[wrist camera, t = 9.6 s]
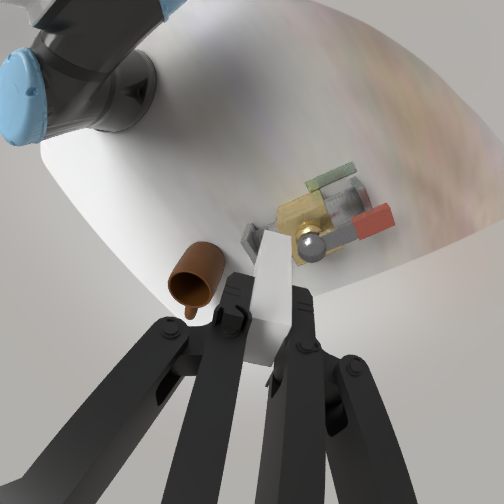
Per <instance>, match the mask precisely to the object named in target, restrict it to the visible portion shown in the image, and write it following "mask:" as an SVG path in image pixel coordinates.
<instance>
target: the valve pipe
mask: <svg viewBox="0 0 504 504" xmlns="http://www.w3.org/2000/svg"><path fill="white" fill-rule="evenodd" d="M354 172H356V169H355V166H354V164H353V162H350V163H348V164H345V165H343V166H341V167H339V168H336V169H334V170H332V171H329V172H327V173H325V174H323V175H321V176H318V177H316V178H314V179H312V180H309V181H307V182H305V184H306V186H307V188H308V190H309V192H311V191H313V190H315V189H317V190H315V191H313V192H311V193H309V194H306V195H304V196H302V197H300V198H297V199H295V200H293V201H291V202H289V203H287V204H284V205H282V206H280V207H278V212H277V220H276V222H273V223H271V224H269V225H267V226H265V227H262V228H260V229H258V230H256V229H255V227H254V225H253V224H252V223H251V224H249V225H247V226H246V229H245V232H244V234H243V237H242V240H241V244H242V246H243V247H244V249H245V251H246V252H247V254H248V255H249V257H250V258H251V260H252V262H253V263H254V265H255V263H256V259H257V256H258V252H259V248H260V245H261V241H262V237H263V234H264V230H268V231H272V232H276V233H280V234H284V235H288V236H291V247H292V256H293V258H294V260H295V262H296V264H297V265H298V266H300V265H302V264H305V263H307V262H306V261H304V260H302V259H301V258H300V257H299V255H298V249H297V243H298V239H299V238H300V236H301V235H302V234H304V233H306V232H310V231H313V232H317V233H322V232H324V231H326V230H329V229H331V228H333V227H336V226H338V225H341V224H343V223H345V222H348V221H350V220H351V218H352V217H354V216H356V215H359V214H361V213H363V212H366V211H368V210H370V209H373V207H372V205H371V202H370V199H369V197H368V194H367V192H366V189H365V187H364V186H363V185H362V184H361V182H360V181H359V180H358V179H357V178H356V177H352V178H350V181H351V184H352V186H353V187H352V188H350V189H348V190H345V191H343V192H341V193H339V194H336V195H334V196H332V197H329V198H327V199H325V200H324V199H323V197H322V194H321V192H320V190H319V189H318V188H320V187H322V186H324V185H326V184H329V183H331V182H333V181H336V180H338V179H340V178H342V177H345V176H347V175H349V174H352V173H354ZM342 248H343V246H342V245H341V246H339V247H336V248H334V249H331V250H329V251H326V254H325V255H327V254H330V253H332V252H334V251H337V250H339V249H342Z"/></svg>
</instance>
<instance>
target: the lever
mask: <svg viewBox="0 0 504 504" xmlns="http://www.w3.org/2000/svg"><path fill="white" fill-rule="evenodd" d="M394 225H395V222H394V219H393V216H392V213H391V209H390V207H389V205H388V204H387V203H384V204H382V205H380V206H377V207H375V208H373V209H370V210H368V211H366V212H363V213H361V214H359V215H356V216H354V217H352V218H351V220H350V221H348V222H345V223H343V224H341V225H338V226H336V227H333V228H331V229H329V230H326V231H324V232H322V233H317V232H313V231H310V232H306V233H304V234H302V235H301V236H300V238H299V239H298V243H297V249H298V255H299V257H300V258H301V259H302V260H304V261H306V262H310V263H314V262H318V261H320V260H321V259H322V258H323V257H324V256H325V254H326V251H329V250H331V249H334V248H336V247H339V246H341V245H343V244H346V243H348V242H351V241H353V240H356V239H358V238H359V240H361V239H364V238H366V237H368V236H371V235H373V234H376V233H378V232H380V231H383V230H385V229H387V228H390V227H392V226H394Z"/></svg>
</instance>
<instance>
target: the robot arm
mask: <svg viewBox="0 0 504 504" xmlns="http://www.w3.org/2000/svg"><path fill="white" fill-rule="evenodd" d="M186 1H187V0H0V2H2V3H6V4H11V5H15V6H18V7H22V8H25V9H26V10H27V12H28V19H29V25H30V26H32V27H35V28H38V29H41V31H40V32H39V34H38V35H37V37H36V38H35V40H34V41H33V43H32V45H31V46H30V47H29V48H26V47H24V48H20V49H19V50H16V51H14V52H13V53H12V54H10V55H9V56H8V57H7V58H6V59H5V61H4V63H3V64H2V66H1V68H0V133H1V135H2V137H3V138H4V139H5V140H6V141H7V142H8V143H9V144H11V145H13V146H23V145H27V144H31V143H39V142H41V141H42V140H45V139H48V138H51V137H55V136H58V135H61V134H64V133H68V132H71V131H75V130H79V129H83V128H90V129H91V128H93V129H95V130H97V131H100V132H116V131H120V130H124V129H127V128H129V127H131V126H132V125H134V124H135V123H137V122H138V121H139V120H140V119H141V118H142V117H143V116H144V114H145V113H146V112H147V110H148V109H149V107H150V105H151V103H152V100H153V98H154V94H155V90H156V73H155V69H154V66H153V64H152V62H151V60H150V59H149V57H148V56H147V55H146V54H144V53H143V52H141V51H140V50H137V49H135V48H136V47H137V46H138V45H139V44H140V43H141V42H142V41H143V40H144V39H145V38H146V37H147V36H148V35H149V34H150V33H151V32H152V31H153V30H154V29H156V28H157V27H158V26H159V25H160V24H161V23H162V22H166V21H167V20H168V17H169V16H170V15H171V14H172V13H173V12H175V11H176V10H177V9H178V8H179V7H180V6H182V5H183V4H184V3H185V2H186ZM313 312H314V309H313V297H312V295H311V294H310V292H309V290H308V289H306V288H302V287H298V286H293V285H292V247H291V236H288V235H284V234H280V233H276V232H272V231H268V230H264V234H263V237H262V241H261V245H260V248H259V252H258V256H257V259H256V263H255V266H254V270H253V276H249V275H245V274H241V273H237V272H233V273H232V274H231V275H230V276H229V277H228V278H227V281H226V285H225V288H224V291H223V294H222V297H221V301H220V304H219V305H217V307H216V308H215V310H214V314H213V320H212V322H210V323H209V324H207V325H204V326H187V325H186V323H185V322H184V321H182V320H181V319H179V318H176V317H164V318H160V319H159V320H157V321H156V322H155V323H154V324H153V325H152V326H151V327H150V328H149V329H148V330H147V332H146V333H145V334H144V335H143V336H142V337H141V338H140V339H139V340H138V342H137V343H136V344H135V345H134V346H133V347H132V348H131V349H130V350H129V352H128V353H127V354H126V355H125V356H124V357H123V358H122V360H120V362H119V363H118V364H117V365H116V366H115V367H114V368H113V370H112V371H111V372H110V373H109V374H108V375H107V376H106V378H105V379H104V380H103V381H102V382H101V383H100V384H99V385H98V387H97V388H96V389H95V390H94V391H93V392H92V394H91V395H90V396H89V397H88V398H87V399H86V400H85V402H84V403H83V404H82V405H81V406H80V408H79V409H78V410H77V411H76V412H75V413H74V415H73V416H72V417H71V418H70V419H69V421H68V422H67V423H66V424H65V425H64V427H63V428H62V429H61V430H60V431H59V432H58V434H57V435H56V436H55V437H54V439H53V440H52V441H51V442H50V443H49V445H48V446H47V447H46V448H45V449H44V451H43V452H42V453H41V454H40V456H39V457H38V458H37V459H36V461H35V462H34V463H33V464H32V466H31V467H30V468H29V470H28V471H27V472H26V473H25V474H24V476H23V477H22V478H20V479H18V480H15V481H13V482H10V483H8V484H5V485H3V486H0V504H95V503H96V502H97V500H98V499H99V498H100V497H101V495H102V494H103V492H104V491H105V489H106V488H107V487H108V486H109V484H110V483H111V481H112V480H113V479H114V477H115V476H116V474H117V473H118V472H119V470H120V469H121V467H122V466H123V465H124V463H125V462H126V460H127V459H128V457H129V456H130V455H131V453H132V452H133V450H134V449H135V448H136V446H137V445H138V443H139V442H140V440H141V439H142V438H143V436H144V434H145V433H146V432H147V430H148V429H149V428H150V426H151V425H152V423H153V422H154V420H155V419H156V417H157V416H158V414H159V413H160V412H161V410H162V409H163V407H164V406H165V404H166V403H167V402H168V400H169V399H170V397H171V396H172V394H173V393H174V391H175V390H176V388H177V387H178V385H179V384H180V383H181V381H182V380H183V378H184V377H185V376H196V379H195V383H194V387H193V390H192V393H191V397H190V400H189V403H188V407H187V411H186V414H185V417H184V421H183V425H182V429H181V432H180V435H179V439H178V442H177V446H176V450H175V453H174V457H173V461H172V464H171V468H170V472H169V475H168V479H167V483H166V487H165V490H164V494H163V499H162V502H161V504H217V502H218V496H219V490H220V486H221V481H222V475H223V470H224V464H225V459H226V453H227V448H228V443H229V437H230V431H231V426H232V420H233V414H234V409H235V404H236V398H237V392H238V386H239V380H240V375H241V369H242V364H243V361H244V362H248V363H253V364H258V365H263V366H268V367H271V366H272V364H273V362H274V370H273V372H272V374H271V375H270V377H269V379H268V381H267V383H266V386H265V387H268V386H269V391H268V401H267V410H266V420H265V429H264V437H263V445H262V453H261V461H260V469H259V477H258V484H257V491H256V498H255V504H324V495H325V460H326V459H325V458H326V455H325V454H327V457H328V462H329V465H330V469H331V473H332V477H333V482H334V486H335V489H336V494H337V498H338V502H339V504H418V503H417V500H416V496H415V493H414V490H413V486H412V483H411V480H410V476H409V473H408V470H407V467H406V464H405V461H404V458H403V455H402V452H401V449H400V447H399V444H398V441H397V438H396V436H395V433H394V430H393V428H392V425H391V422H390V419H389V417H388V414H387V411H386V409H385V406H384V404H383V401H382V399H381V396H380V394H379V391H378V389H377V386H376V384H375V381H374V379H373V377H372V374H371V372H370V370H369V367H368V365H367V364H366V362H365V361H364V360H363V359H362V358H360V357H358V356H356V355H346V356H344V357H343V358H342V359H339V358H337V357H335V356H332V355H330V354H328V353H326V352H325V351H324V350H323V349H322V348H321V344H320V343H319V342H318V340H317V339H316V337H315V323H314V313H313Z"/></svg>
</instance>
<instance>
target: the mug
mask: <svg viewBox="0 0 504 504" xmlns="http://www.w3.org/2000/svg"><path fill="white" fill-rule="evenodd" d="M224 267H225V259H224V256H223V254H222V252H221V251H220V250H219V249H218V248H217V247H216V246H215V245H213V244H211V243H207V242H197V243H194V244H192V245H191V246H190V247H189V248H188V249H187V250H186V252H185V253H184V255H183V256H182V257H181V259H180V260H179V262H178V263H177V265H176V266H175V268H174V269H173V271H172V273H171V275H170V277H169V280H168V289H169V292H170V293H171V295H172V296H173V298H174V299H175V300H176V301H178V302H179V303H180V304H182V305H184V306H186V307H185V317H186V319H188V320H192V319H194V318H195V316H196V313H197V310H198V308H200V307H204V306H206V305H207V304H208V303H209V302H210V301H211V299H212V297H213V295H214V294H215V291H216V289H217V286H218V284H219V281H220V279H221V276H222V273H223V271H224Z"/></svg>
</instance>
